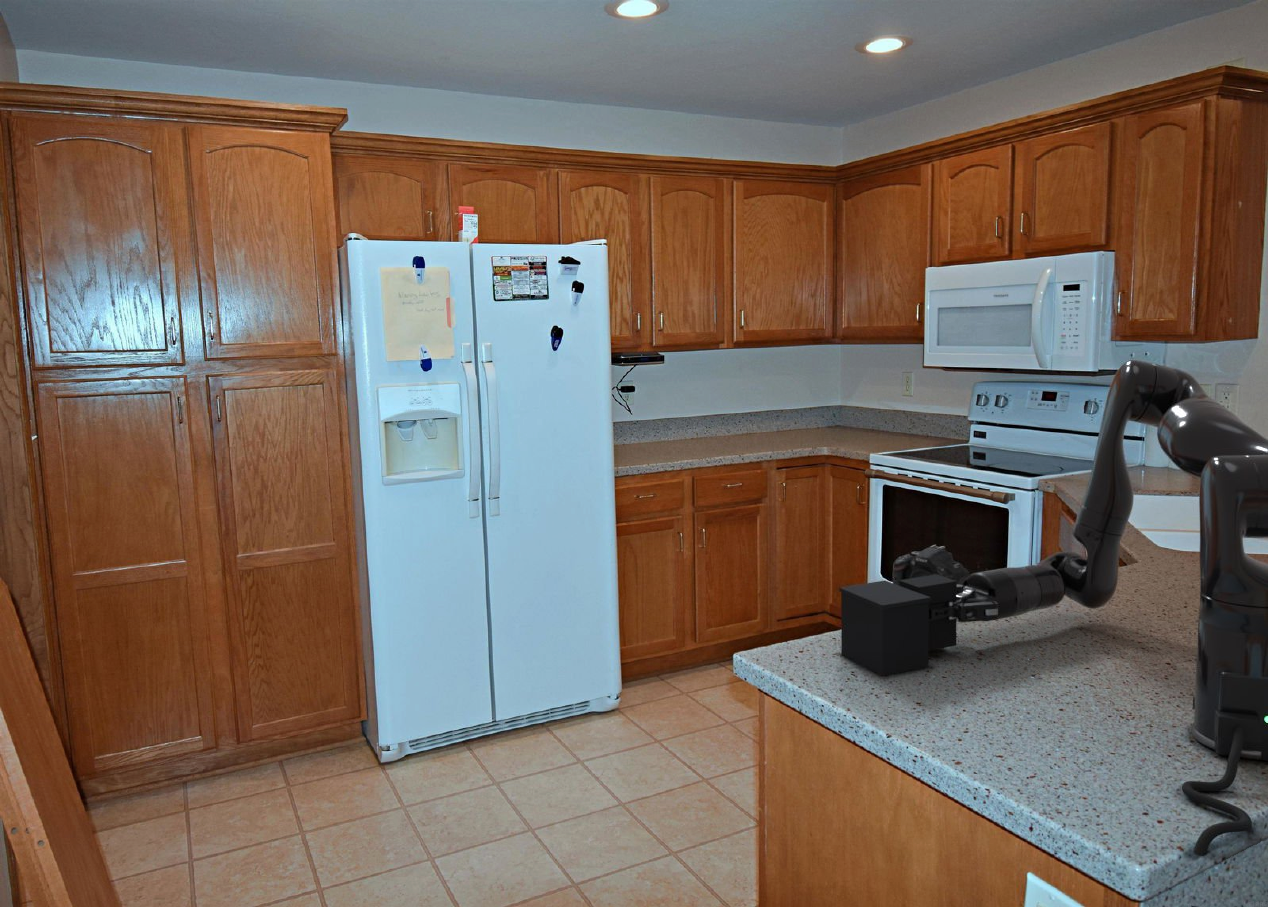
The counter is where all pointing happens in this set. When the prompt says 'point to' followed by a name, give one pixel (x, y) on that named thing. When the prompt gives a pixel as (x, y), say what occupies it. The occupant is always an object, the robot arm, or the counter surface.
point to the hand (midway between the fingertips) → (913, 609)
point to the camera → (929, 565)
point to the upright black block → (940, 592)
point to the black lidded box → (885, 627)
